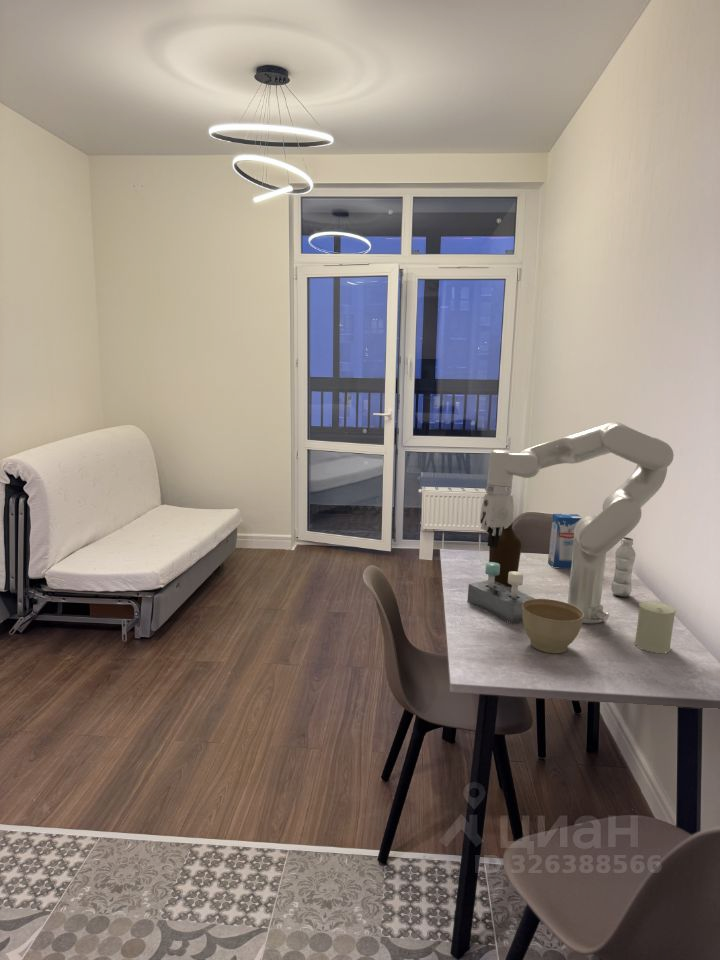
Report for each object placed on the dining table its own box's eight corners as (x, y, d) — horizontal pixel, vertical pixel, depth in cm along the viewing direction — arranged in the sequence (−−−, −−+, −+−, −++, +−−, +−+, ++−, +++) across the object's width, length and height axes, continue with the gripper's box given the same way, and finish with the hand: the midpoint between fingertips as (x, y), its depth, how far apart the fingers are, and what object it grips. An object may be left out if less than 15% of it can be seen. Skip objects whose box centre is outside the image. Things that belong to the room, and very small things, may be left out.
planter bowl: (573, 665, 165) (577, 625, 164) (511, 649, 173) (515, 611, 171) (584, 643, 179) (589, 606, 177) (527, 629, 187) (530, 594, 185)
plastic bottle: (615, 598, 217) (622, 541, 213) (607, 591, 223) (613, 535, 220) (634, 599, 217) (641, 541, 213) (625, 592, 223) (632, 536, 220)
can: (639, 651, 176) (645, 610, 173) (630, 638, 185) (635, 598, 182) (675, 655, 174) (681, 613, 172) (664, 641, 183) (669, 601, 181)
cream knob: (523, 603, 196) (526, 574, 194) (513, 605, 194) (516, 576, 192) (513, 598, 200) (516, 570, 198) (503, 600, 197) (505, 572, 196)
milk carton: (572, 563, 254) (577, 514, 251) (578, 568, 248) (584, 518, 245) (547, 563, 254) (552, 513, 250) (553, 567, 247) (558, 517, 244)
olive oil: (493, 593, 216) (499, 521, 211) (481, 583, 226) (487, 513, 222) (522, 592, 218) (529, 521, 214) (509, 582, 228) (515, 513, 224)
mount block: (535, 618, 196) (537, 599, 195) (512, 624, 191) (513, 604, 190) (490, 597, 212) (491, 579, 211) (467, 601, 207) (468, 583, 206)
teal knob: (500, 592, 204) (503, 565, 203) (490, 594, 202) (492, 567, 200) (491, 588, 208) (493, 561, 206) (480, 590, 206) (483, 563, 204)
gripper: (489, 493, 192) (483, 552, 195) (525, 491, 200) (518, 548, 203) (472, 488, 198) (466, 545, 202) (507, 486, 206) (501, 541, 210)
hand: (492, 546), depth 202 cm, fingers closed
